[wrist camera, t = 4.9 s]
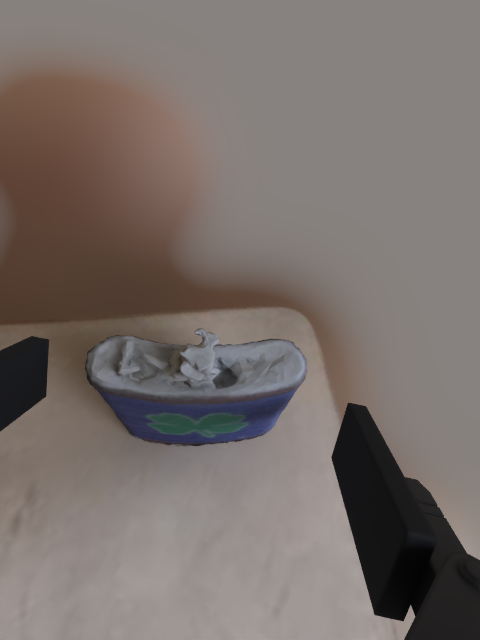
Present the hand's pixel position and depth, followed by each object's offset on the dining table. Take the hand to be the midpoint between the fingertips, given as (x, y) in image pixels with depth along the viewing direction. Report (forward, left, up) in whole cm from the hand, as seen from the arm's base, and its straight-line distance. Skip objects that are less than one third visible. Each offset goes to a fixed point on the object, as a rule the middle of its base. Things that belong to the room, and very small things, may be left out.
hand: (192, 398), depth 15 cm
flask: (0, -1, -7) cm, 7 cm away
